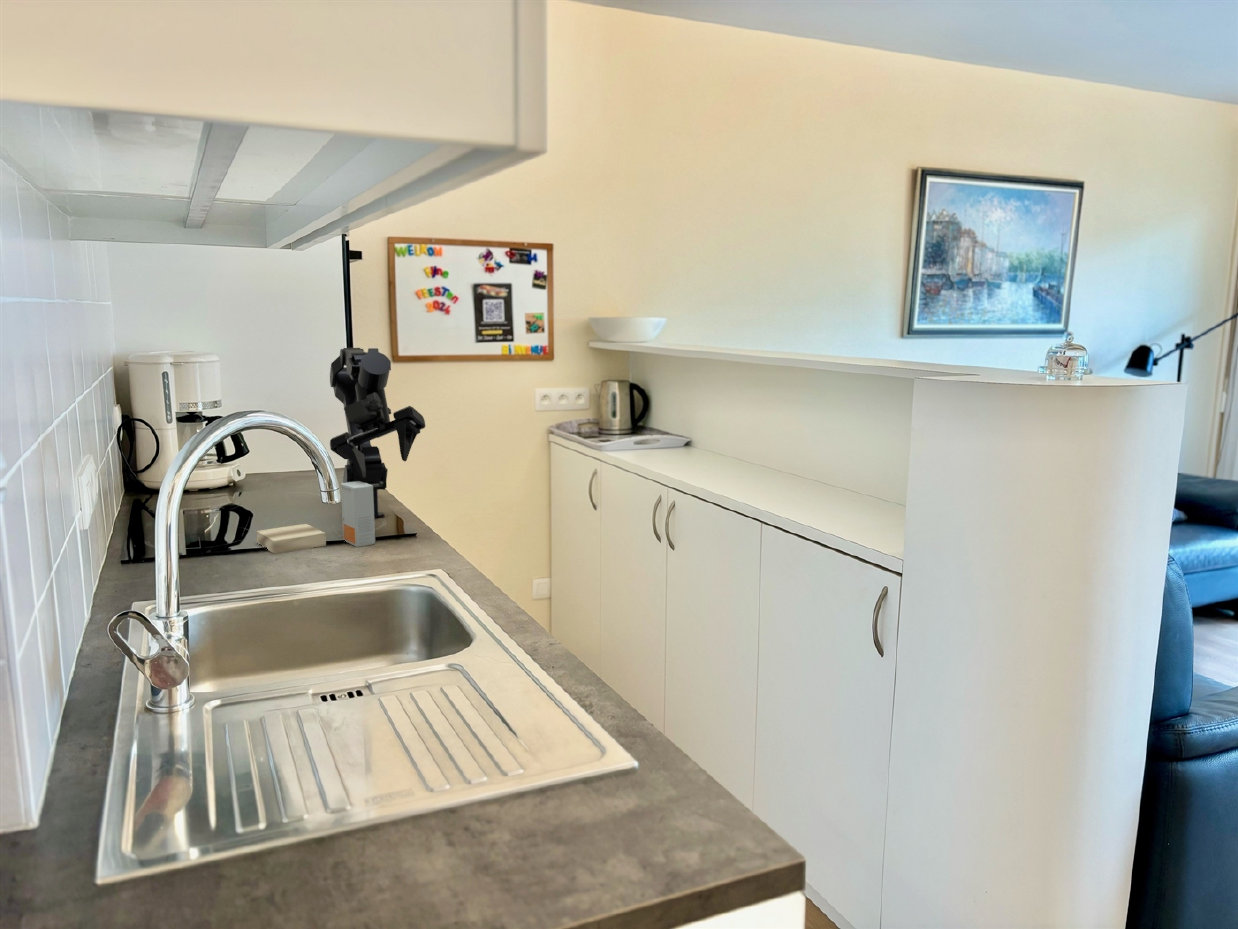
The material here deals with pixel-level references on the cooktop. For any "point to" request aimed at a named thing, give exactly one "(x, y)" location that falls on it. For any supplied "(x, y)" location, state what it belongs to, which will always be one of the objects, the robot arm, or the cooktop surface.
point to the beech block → (291, 538)
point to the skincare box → (358, 513)
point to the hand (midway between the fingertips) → (383, 469)
